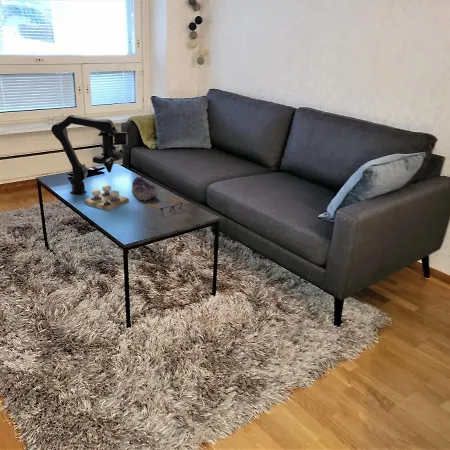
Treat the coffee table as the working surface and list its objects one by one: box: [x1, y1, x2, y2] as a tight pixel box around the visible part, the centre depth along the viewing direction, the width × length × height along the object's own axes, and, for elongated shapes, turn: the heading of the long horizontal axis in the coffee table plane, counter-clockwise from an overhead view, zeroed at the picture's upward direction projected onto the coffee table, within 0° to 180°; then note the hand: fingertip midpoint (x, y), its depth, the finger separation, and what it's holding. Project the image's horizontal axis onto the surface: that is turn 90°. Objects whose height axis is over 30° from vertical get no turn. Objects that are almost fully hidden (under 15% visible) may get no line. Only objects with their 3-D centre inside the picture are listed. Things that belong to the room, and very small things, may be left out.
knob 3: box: [109, 190, 120, 200], centre depth 239 cm, size 5×5×4 cm
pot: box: [104, 197, 111, 206], centre depth 233 cm, size 2×2×4 cm
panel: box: [84, 191, 130, 211], centre depth 241 cm, size 16×16×2 cm
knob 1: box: [91, 188, 102, 199], centre depth 239 cm, size 5×5×4 cm
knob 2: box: [101, 184, 112, 194], centre depth 246 cm, size 5×5×4 cm
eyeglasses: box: [144, 197, 183, 215], centre depth 239 cm, size 14×14×4 cm
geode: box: [131, 175, 158, 202], centre depth 253 cm, size 20×12×10 cm, turn 34°
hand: (109, 172), depth 249 cm, fingers closed
